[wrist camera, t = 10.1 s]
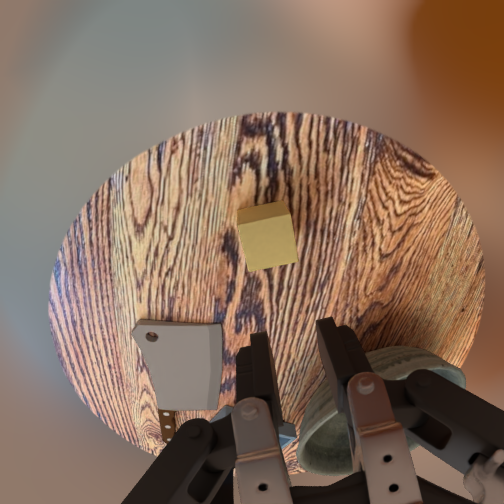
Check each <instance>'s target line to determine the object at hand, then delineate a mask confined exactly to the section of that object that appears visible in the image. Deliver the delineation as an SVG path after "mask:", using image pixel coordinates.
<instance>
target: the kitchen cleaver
mask: <svg viewBox="0 0 504 504" xmlns="http://www.w3.org/2000/svg"><path fill="white" fill-rule="evenodd" d="M148 332H154V333H156V334H157V335H158V337H151V336H150V335H148ZM131 335H132V336H133V338H134V340H135V341H136V343H137V345H138V346H139V348H140V349H141V351H142V353H143V356H144V358H145V361H146V363H147V366H148V368H149V370H150V374H151V377H152V381H153V384H154V388H155V394H156V399H157V405H158V414H159V420H160V426H161V433H162V438H163V441H164V442H165V443H167V444H168V442H169V441H170V440H171V438H172V437H173V436H174V434H175V428H176V426H175V419H174V418H173V417H174V416H175V411H194V410H217V405H218V398H219V391H220V384H221V376H222V328H221V324H201V323H183V322H167V321H153V320H141V319H140V320H139V321H138V323H137V324H136V325H135V327H134V328H133V330H132V333H131Z"/></svg>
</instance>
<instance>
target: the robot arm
mask: <svg viewBox="0 0 504 504" xmlns="http://www.w3.org/2000/svg"><path fill="white" fill-rule="evenodd" d="M316 330H317V339H318V347H319V352H320V357H321V360H322V363H323V366H324V369H325V373H326V376H327V379H328V382H329V385H330V388H331V392H332V395H333V398H334V401H335V405H336V408H337V411H338V414H340V413H344V412H345V415H346V418H347V430H348V436H349V443H350V449H351V455H352V462H353V474H351V475H349V476H348V477H346V478H344V479H342V480H340V481H338V482H336V483H334V484H331V485H329V486H293V487H292V485H291V482H290V478H289V475H288V471H287V467H286V464H285V460H284V456H283V453H282V449H281V445H280V442H279V429H278V427H281V426H284V424H283V417H282V410H281V404H280V397H279V390H278V383H277V376H276V370H275V364H274V359H273V354H272V350H271V346H270V342H269V338H268V334H267V331H264V332H259V333H254V334H250V340H251V346H247V347H241V348H240V350H239V352H238V354H237V356H236V374H237V375H236V398H237V400H236V404H235V406H234V407H233V409H232V412H231V413H230V414H228V415H227V416H225V417H224V418H221V419H219V420H216V421H214V422H211V423H209V422H208V421H207V420H205V419H201V418H195V419H191V420H188V421H186V422H185V423H183V424H182V425H181V426H180V428H179V429H178V430H177V432H176V433H175V434H174V436H173V437H172V438H171V440H170V441H169V442H168V444H167V445H166V446H165V448H164V449H163V450H162V452H161V453H160V454H159V456H158V457H157V458H156V460H155V461H154V462H153V464H152V465H151V466H150V468H149V469H148V470H147V471H146V473H145V474H144V475H143V476H142V478H141V479H140V480H139V482H138V483H137V484H136V485H135V487H134V488H133V489H132V491H131V492H130V493H129V494H128V496H127V497H126V498H125V499H124V501H123V502H122V503H121V504H210V503H211V501H212V499H213V498H214V496H215V495H216V493H217V492H218V490H219V488H220V487H221V485H222V483H223V482H224V480H225V479H226V477H227V475H228V474H229V472H230V470H231V469H232V467H233V466H235V468H236V475H237V481H238V488H239V494H240V500H241V504H504V411H503V410H501V409H499V408H497V407H496V406H494V405H492V404H490V403H488V402H487V401H485V400H483V399H481V398H479V397H478V396H476V395H474V394H472V393H471V392H469V391H467V390H465V389H463V388H462V387H460V386H458V385H456V384H455V383H453V382H451V381H449V380H447V379H446V378H444V377H442V376H440V375H439V374H437V373H435V372H433V371H431V370H428V369H418V370H415V371H413V372H411V373H410V374H409V375H408V377H407V378H406V379H405V380H386V379H383V378H381V377H380V376H379V375H377V374H375V373H374V371H373V369H372V367H371V365H370V363H369V361H368V359H367V357H366V355H365V353H364V350H363V348H362V347H361V344H360V342H359V341H358V338H357V336H356V334H355V332H354V331H353V330H352V329H351V328H349V327H348V326H347V325H343V326H339V327H337V326H336V324H335V322H334V319H333V317H328V318H323V319H319V320H316ZM405 435H406V436H408V437H409V438H411V439H412V440H414V441H415V442H416V443H418V444H419V445H421V446H422V447H424V448H425V449H427V450H428V451H429V452H431V453H432V454H434V455H435V456H437V457H438V458H440V459H441V460H443V461H444V462H446V463H447V464H449V465H450V466H452V467H453V468H455V469H456V470H458V471H460V472H461V473H463V474H464V478H463V483H464V487H465V488H466V490H467V491H468V492H469V493H470V494H471V495H472V497H473V501H471V500H468V499H466V498H464V497H461V496H459V495H457V494H455V493H452V492H450V491H448V490H446V489H444V488H442V487H439V486H437V485H435V484H433V483H431V482H429V481H427V480H425V479H423V478H421V477H419V476H417V475H416V473H415V469H414V465H413V461H412V457H411V454H410V450H409V446H408V443H407V439H406V436H405Z"/></svg>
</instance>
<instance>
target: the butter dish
mask: <svg viewBox="0 0 504 504" xmlns="http://www.w3.org/2000/svg"><path fill="white" fill-rule="evenodd" d="M232 409H233V407H230V406H227V405H225V406H224V407H223V408H222V409H221V410H220V412H219V413H218V414H217V415H216V416H215V417H214V418H213V419H212V420H211V421H210V422H209V423H211V422H214V421H216V420H219V419H221V418H224V417H225V416H227V415H228V414H230V413H231V412H232ZM283 424H284V426H281V427H278V429H279V442H280V445H281V449H283V448H284V447H286V446H287V445H288V444H290V443H291V442H292V441H294V440H295V439H296V438H297V435H296V430H295V425H294V424H290V423H286V422H283Z"/></svg>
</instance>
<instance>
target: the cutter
mask: <svg viewBox="0 0 504 504" xmlns="http://www.w3.org/2000/svg"><path fill="white" fill-rule="evenodd" d="M234 468H235V466H233V467H232V469H231V470H230V472H229V474H228V475H227V477H226V479H225V480H224V482H223V483H222V485H221V487H220V488H219V490H218V492H217V493H216V495H215V496H214V498H213V499H212V501H211V503H210V504H234V499H233V469H234Z"/></svg>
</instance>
